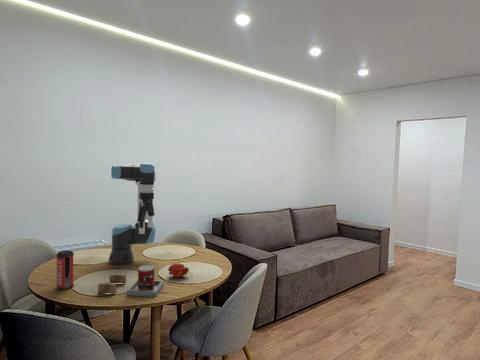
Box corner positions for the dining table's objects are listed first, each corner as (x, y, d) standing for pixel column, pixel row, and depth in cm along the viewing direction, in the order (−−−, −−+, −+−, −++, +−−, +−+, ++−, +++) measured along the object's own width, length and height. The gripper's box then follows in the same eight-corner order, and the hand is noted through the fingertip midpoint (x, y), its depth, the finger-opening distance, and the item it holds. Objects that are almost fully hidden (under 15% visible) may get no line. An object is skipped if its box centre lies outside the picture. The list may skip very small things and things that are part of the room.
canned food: (136, 292, 151) (136, 270, 151) (140, 285, 159) (140, 264, 159) (152, 292, 152) (152, 270, 151) (155, 285, 160) (155, 264, 159)
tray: (126, 295, 149) (126, 290, 149) (137, 284, 163) (137, 279, 163) (155, 296, 148) (155, 291, 148) (163, 285, 162) (163, 280, 162)
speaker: (77, 285, 159) (77, 250, 158) (65, 291, 151) (65, 255, 150) (64, 283, 160) (64, 249, 159) (52, 289, 153) (52, 253, 152)
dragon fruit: (166, 278, 176) (187, 281, 176) (165, 274, 169) (187, 278, 169) (170, 264, 180) (190, 267, 181) (169, 259, 173) (190, 262, 174)
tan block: (98, 294, 149) (98, 284, 149) (111, 282, 163) (111, 273, 163) (114, 294, 149) (114, 284, 149) (126, 283, 163) (126, 274, 163)
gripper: (145, 195, 154) (145, 236, 156) (160, 189, 179) (159, 225, 181) (131, 194, 155) (130, 236, 157) (147, 188, 179) (146, 224, 181)
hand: (146, 230), depth 169 cm, fingers open, 13 cm apart
